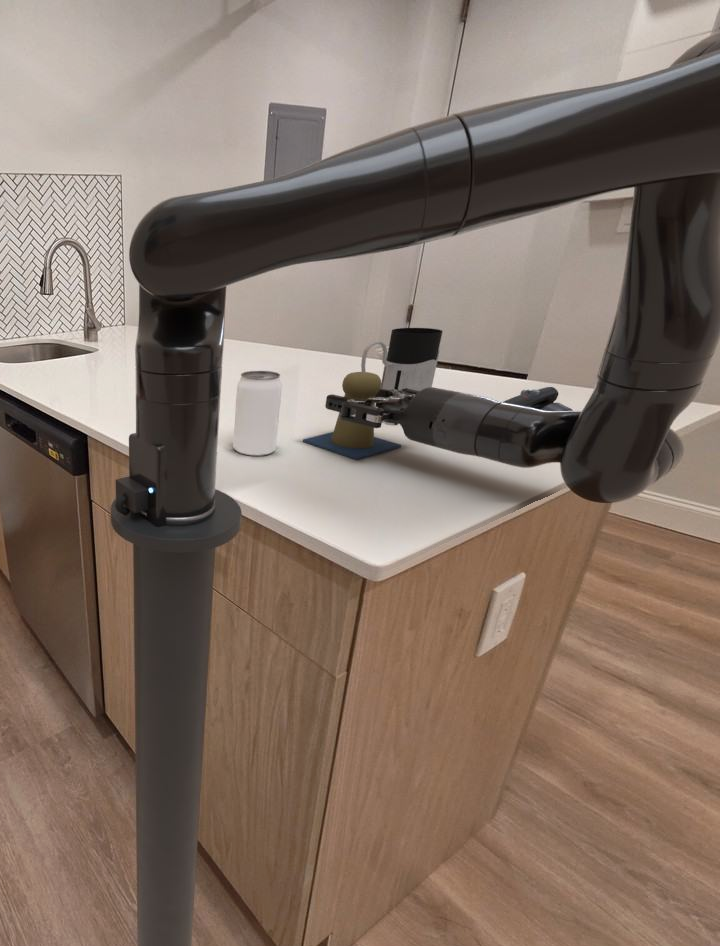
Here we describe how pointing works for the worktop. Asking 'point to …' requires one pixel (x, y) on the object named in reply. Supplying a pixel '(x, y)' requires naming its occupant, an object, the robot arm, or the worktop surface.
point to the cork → (349, 432)
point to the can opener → (539, 399)
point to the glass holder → (409, 358)
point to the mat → (354, 453)
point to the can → (257, 413)
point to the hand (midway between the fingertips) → (346, 397)
